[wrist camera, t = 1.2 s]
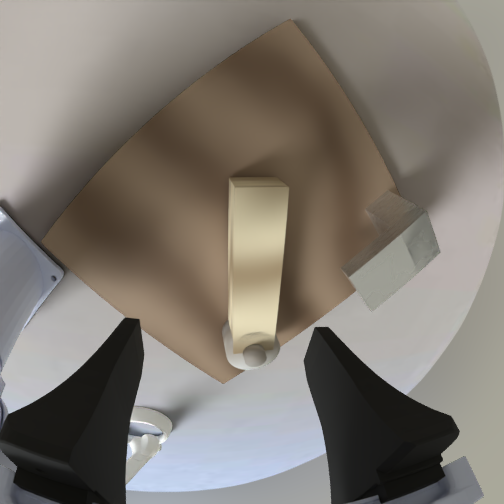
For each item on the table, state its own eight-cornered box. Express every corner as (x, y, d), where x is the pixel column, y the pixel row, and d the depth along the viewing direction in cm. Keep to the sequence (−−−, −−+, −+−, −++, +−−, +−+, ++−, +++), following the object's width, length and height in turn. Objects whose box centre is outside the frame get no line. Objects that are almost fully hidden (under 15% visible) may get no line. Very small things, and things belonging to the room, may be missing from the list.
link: (269, 345, 25) (280, 373, 22) (222, 350, 24) (228, 380, 21) (284, 177, 19) (302, 191, 16) (220, 177, 18) (227, 191, 15)
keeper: (344, 278, 24) (371, 312, 20) (320, 245, 22) (348, 277, 18) (405, 227, 23) (440, 252, 19) (387, 190, 21) (426, 211, 17)
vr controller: (79, 417, 20) (140, 471, 19) (141, 380, 32) (188, 418, 31) (61, 455, 21) (113, 501, 19) (118, 416, 32) (160, 451, 31)
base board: (221, 376, 28) (223, 384, 27) (45, 236, 18) (40, 242, 17) (411, 233, 24) (418, 238, 24) (285, 22, 15) (290, 18, 14)
